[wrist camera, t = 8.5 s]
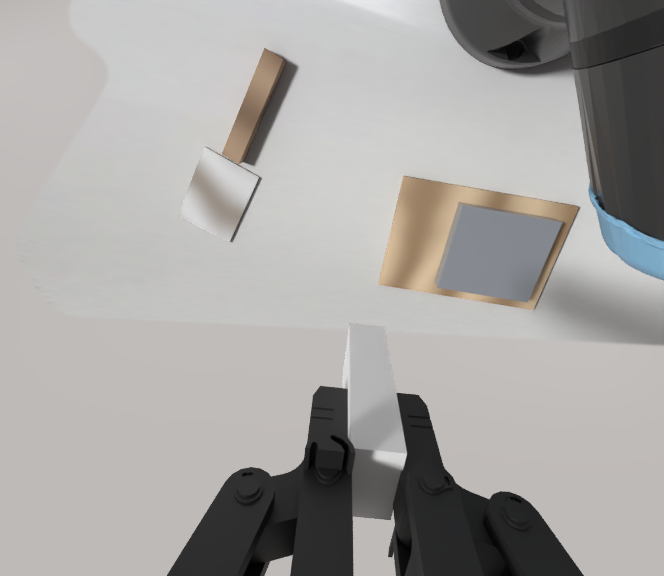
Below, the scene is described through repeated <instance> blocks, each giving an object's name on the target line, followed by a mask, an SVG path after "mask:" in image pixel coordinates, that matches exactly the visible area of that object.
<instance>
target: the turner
mask: <svg viewBox="0 0 664 576" xmlns="http://www.w3.org/2000/svg"><path fill="white" fill-rule="evenodd" d="M285 63H286V61H285V60H283V59H282V58H280V57H279V56H277V55H276V54H274V53H272V52H271V51H269V50H268V49H266V48H264V51H263V53H262V56H261V58H260V61H259V63H258V66H257V68H256V71H255V73H254V76H253V78H252V81H251V83H250V86H249V88H248V91H247V93H246V96H245V98H244V101H243V103H242V105H241V108H240V110H239V113H238V115H237V118H236V120H235V123H234V125H233V128H232V130H231V133H230V135H229V138H228V140H227V143H226V145H225V148H224V150H223V153H222V155H224V156H226V157H228V158H229V159H231V160H233V161H235V162H237V163H238V164H240V163H242V162H243V161H244V159H245V156H246V154H247V152H248V149H249V147H250V145H251V142H252V140H253V138H254V135H255V133H256V131H257V128H258V126H259V124H260V121H261V119H262V117H263V114H264V112H265V110H266V107H267V105H268V103H269V100H270V98H271V96H272V93H273V91H274V89H275V86H276V84H277V82H278V79H279V77H280V75H281V72H282V70H283V68H284V65H285ZM229 159H227V158H225V157H223V156H221V155H220V154H218V153H216V152H214V151H213V150H211V149H209V148H207V147H204V149H203V152H202V154H201V157H200V159H199V162H198V165H197V167H196V170H195V173H194V175H193V178H192V180H191V183H190V186H189V188H188V191H187V194H186V196H185V199H184V202H183V204H182V207H181V209H180V212H179V215H178V216H179V217H181V218H183V219H185V220H187V221H189V222H191V223H193V224H195V225H196V226H198V227H200V228H202V229H204V230H206V231H208V232H210V233H212V234H214V235H216V236H218V237H220V238H222V239H223V240H225V241H227V242H230V241H231V239H232V236H233V234H234V232H235V230H236V228H237V225H238V223H239V221H240V219H241V217H242V215H243V212H244V210H245V208H246V206H247V204H248V201H249V199H250V197H251V195H252V193H253V190H254V188H255V186H256V184H257V182H258V180H259V176H257V175H255V174H253V173H252V172H250V171H248V170H246V169H245V168H243V167H241V166H239V165H237V164H236V163H234V162H232V161H230V160H229Z"/></svg>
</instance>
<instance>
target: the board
mask: <svg viewBox="0 0 664 576" xmlns="http://www.w3.org/2000/svg"><path fill="white" fill-rule="evenodd" d="M459 202H462V203H468V204H474V205H480V206H485V207H491V208H497V209H503V210H509V211H514V212H520V213H526V214H532V215H538V216H543V217H549V218H555V219H557V220H559V221H561V222H562V225H561V227H560V229H559V231H558V234H557V236H556V238H555V241H554V243H553V245H552V248H551V250H550V252H549V255H548V257H547V259H546V261H545V264H544V266H543V268H542V271H541V273H540V275H539V278H538V280H537V282H536V285H535V287H534V289H533V291H532V294H531V296H530V298H529V301H528V303H527V302H521V301H515V300H509V299H502V298H496V297H490V296H484V295H478V294H472V293H466V292H460V291H454V290H448V289H442V288H437V286H436V284H435V282H434V281H435V278H436V275H437V272H438V268H439V265H440V262H441V259H442V255H443V252H444V249H445V245H446V242H447V239H448V236H449V232H450V229H451V226H452V222H453V219H454V216H455V213H456V209H457V206H458V203H459ZM578 208H579V207H578V206H575V205H569V204H563V203H558V202H552V201H546V200H540V199H535V198H529V197H523V196H517V195H512V194H506V193H500V192H494V191H489V190H483V189H477V188H471V187H466V186H460V185H454V184H448V183H442V182H437V181H431V180H425V179H419V178H414V177H408V176H404V177H403V181H402V185H401V189H400V194H399V198H398V202H397V206H396V211H395V215H394V219H393V223H392V228H391V232H390V236H389V240H388V245H387V249H386V253H385V257H384V262H383V266H382V270H381V275H380V279H379V285H384V286H390V287H397V288H403V289H409V290H415V291H421V292H427V293H433V294H439V295H445V296H451V297H457V298H463V299H469V300H475V301H481V302H487V303H493V304H500V305H506V306H512V307H518V308H524V309H530V310H534V307H535V305H536V303H537V301H538V298H539V296H540V294H541V292H542V289H543V287H544V285H545V283H546V280H547V278H548V276H549V274H550V271H551V269H552V267H553V265H554V262H555V260H556V258H557V256H558V253H559V251H560V249H561V247H562V244H563V242H564V240H565V238H566V235H567V233H568V231H569V229H570V226H571V224H572V222H573V220H574V217H575V215H576V213H577V211H578Z"/></svg>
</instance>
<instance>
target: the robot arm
mask: <svg viewBox="0 0 664 576" xmlns="http://www.w3.org/2000/svg"><path fill="white" fill-rule="evenodd" d="M440 4H441V9H442V12H443V15H444V18H445V21H446V23H447V25H448V27H449V29H450V31H451V33H452V34H453V36H454V38H455V39H456V40H457V42H458V43H459V44H460V45H461V46H462V47H463V49H464V50H466V51H467V52H468V53H469V54H470V55H472V56H473V57H474V58H476V59H478V60H479V61H481V62H483V63H485V64H488V65H491V66H494V67H498V68H504V69H522V68H529V67H533V66H537V65H540V64H544V63H547V62H550V61H553V60H555V59H558V58H560V57H562V56H564V55H566V54H568V53H570V52H571V56H572V62H573V72H574V78H575V85H576V91H577V97H578V103H579V110H580V117H581V123H582V130H583V137H584V144H585V151H586V158H587V164H588V171H589V178H590V185H589V190H588V191H589V197H590V200H591V202H592V204H593V206H594V207H595V209H596V211H597V215H598V220H599V224H600V229H601V233H602V236H603V239H604V241H605V243H606V245H607V246H608V247H609V249H610V250H611V251H612V252H614V253H615V254H617V255H618V256H619V257H620V258H621V259H622V260H623V261H624V262H625V263H626V264H628V265H629V266H631V267H633V268H635V269H637V270H639V271H641V272H643V273H645V274H647V275H650V276H653V277H655V278H658V279H662V280H664V0H440ZM393 510H394V519H395V527H394V531H393V535H392V539H391V543H390V547H389V555H388V557H392V556H393V552H394V560H395V569H396V576H584V575H583V574H582V573H581V571H580V570H579V568H578V567H577V566H576V564H575V563H574V561H573V560H572V559H571V558H570V556H569V554H568V553H567V552H566V550H565V549H564V547H563V546H562V545H561V543H560V542H559V540H558V539H557V538H556V537H555V535H554V533H553V532H552V531H551V529H550V528H549V526H548V525H547V524H546V522H545V521H544V519H543V518H542V517H541V515H540V514H539V512H538V511H537V510H536V509H535V508H534V507H533V506H532V505H531V504H530V503H529V502H528V501H526V500H525V499H524V498H522V497H521V496H519V495H516V494H513V493H510V492H501V491H500V492H498V493H495V494H493V495H492V497H491V498H490V500H489V499H487V498H484V497H482V496H479V495H477V494H474V493H472V492H469V491H467V490H465V489H463V488H462V487H460V486H459V485H457V484H456V483H455V481H454V479H453V477H452V476H451V475H450V474H449V473H448V472H447V471H446V470H445V468H444V466H443V463H442V459H441V456H440V452H439V448H438V445H437V442H436V438H435V434H434V430H433V427H432V423H431V420H430V416H429V412H428V409H427V406H426V404H425V403H424V402H423V400H422V399H421V398H420V397H419V395H413V394H403V393H396V388H395V382H394V377H393V371H392V365H391V360H390V354H389V349H388V343H387V337H386V332H385V327H384V326H374V325H364V324H354V323H350V324H349V331H348V339H347V346H346V354H345V362H344V369H343V388H334V387H325V386H320V387H319V388H318V390H317V391H316V392H315V394H314V395H313V402H312V410H311V417H310V425H309V433H308V441H307V445H306V448H305V457H304V460H303V461H302V463H301V464H300V465H299V466H298V467H297V468H296V469H294V470H292V471H291V472H288V473H285V474H282V475H277V476H272V477H271V476H270V475H269V473H267V472H266V471H264V470H262V469H260V468H252V467H250V468H245V469H241V470H239V471H237V472H235V473H233V474H232V475H231V476H230V477H229V478H228V480H227V481H226V482H225V483H224V485H223V487H222V488H221V490H220V491H219V493H218V494H217V496H216V498H215V499H214V501H213V502H212V504H211V506H210V507H209V509H208V510H207V512H206V514H205V515H204V517H203V519H202V520H201V522H200V523H199V525H198V526H197V528H196V530H195V531H194V533H193V534H192V536H191V538H190V539H189V541H188V542H187V544H186V546H185V547H184V549H183V550H182V552H181V554H180V555H179V557H178V559H177V560H176V562H175V563H174V565H173V567H172V568H171V570H170V571H169V573H168V575H167V576H264V575H265V573H266V570H267V568H268V565H269V563H270V561H272V560H275V559H279V558H283V557H287V556H290V555H293V559H292V567H291V575H290V576H353V520H352V516H355V517H365V518H375V519H385V520H391V516H392V512H393Z"/></svg>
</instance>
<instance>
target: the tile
mask: <svg viewBox="0 0 664 576" xmlns="http://www.w3.org/2000/svg"><path fill="white" fill-rule="evenodd" d="M561 225H562V222H561V221H559V220H557V219H555V218H549V217H543V216H538V215H532V214H526V213H520V212H514V211H509V210H503V209H497V208H491V207H485V206H480V205H474V204H468V203H462V202H459V203H458V206H457V209H456V213H455V216H454V219H453V222H452V226H451V229H450V232H449V236H448V239H447V242H446V245H445V249H444V252H443V255H442V259H441V262H440V265H439V268H438V272H437V275H436V278H435V281H434V282H435V284H436V286H437V288H442V289H448V290H454V291H460V292H466V293H472V294H478V295H484V296H490V297H496V298H502V299H509V300H515V301H521V302H527V303H528V301H529V298H530V296H531V294H532V291H533V289H534V287H535V285H536V282H537V280H538V278H539V275H540V273H541V271H542V268H543V266H544V264H545V261H546V259H547V257H548V255H549V252H550V250H551V248H552V245H553V243H554V241H555V238H556V236H557V234H558V231H559V229H560V227H561Z"/></svg>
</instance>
